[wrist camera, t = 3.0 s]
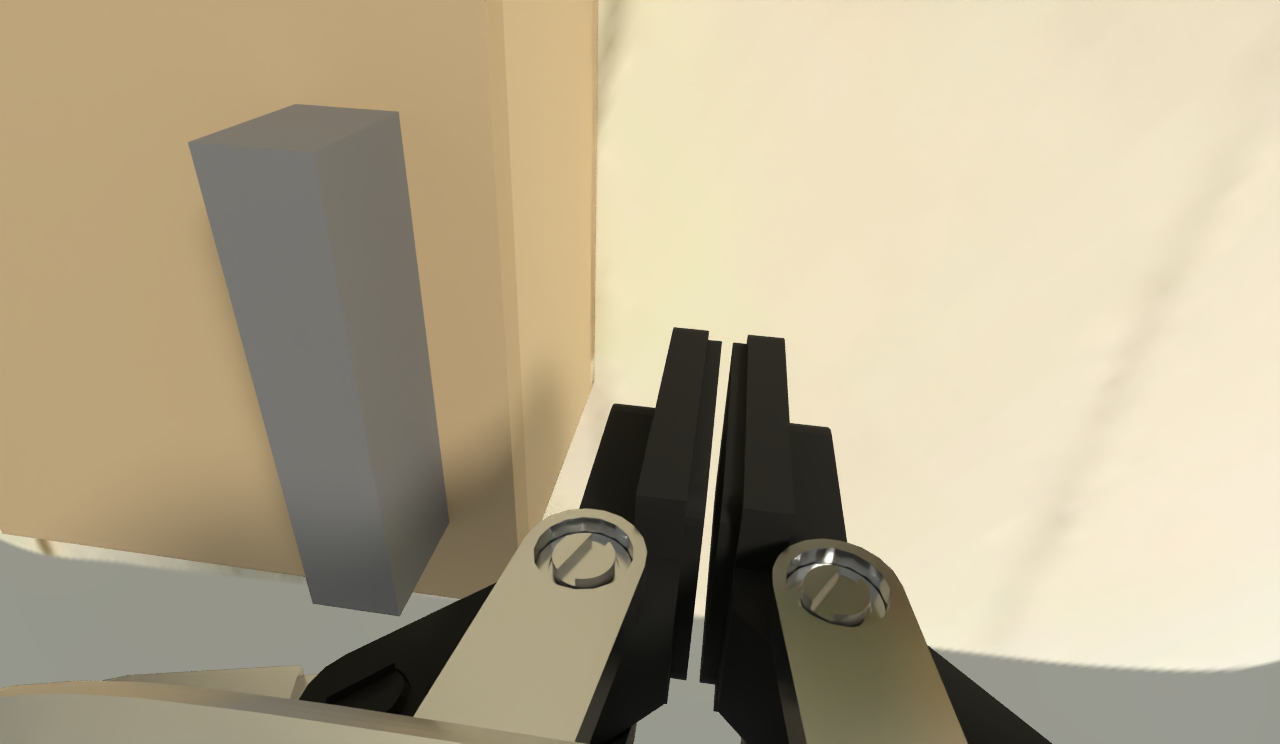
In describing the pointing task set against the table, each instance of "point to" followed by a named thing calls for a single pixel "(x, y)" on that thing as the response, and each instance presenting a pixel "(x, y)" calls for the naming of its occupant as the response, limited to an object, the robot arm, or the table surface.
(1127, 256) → the table surface
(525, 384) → the shipping box
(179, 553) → the box lid
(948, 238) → the table surface
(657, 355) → the table surface
